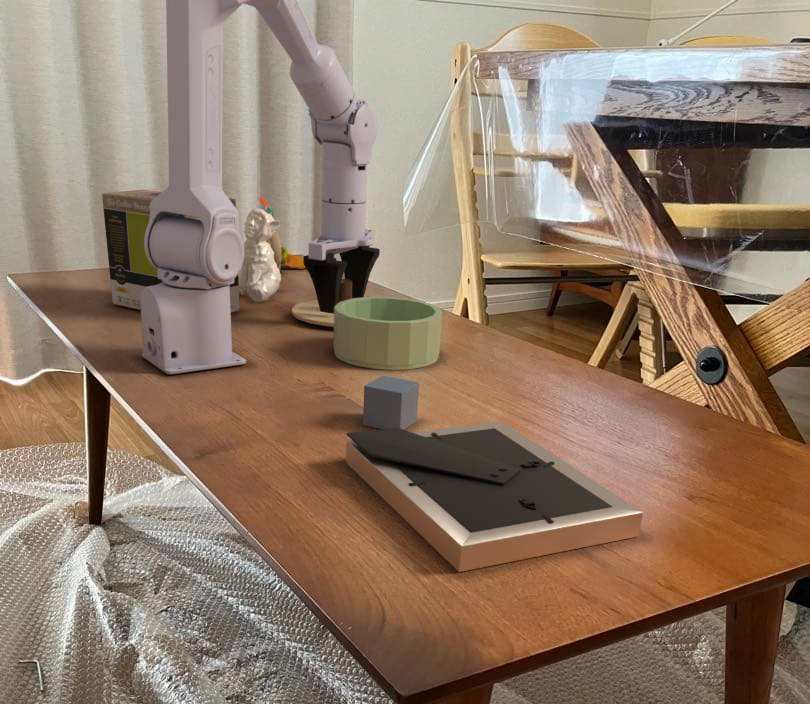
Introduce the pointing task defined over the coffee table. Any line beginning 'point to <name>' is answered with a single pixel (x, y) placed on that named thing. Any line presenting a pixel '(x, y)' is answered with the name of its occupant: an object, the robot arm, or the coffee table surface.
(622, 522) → the picture frame
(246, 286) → the seated beast figurine
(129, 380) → the coffee table surface
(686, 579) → the coffee table surface
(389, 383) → the block
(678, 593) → the coffee table surface
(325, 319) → the lid
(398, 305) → the green faceted round bowl
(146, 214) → the tea box
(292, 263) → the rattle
